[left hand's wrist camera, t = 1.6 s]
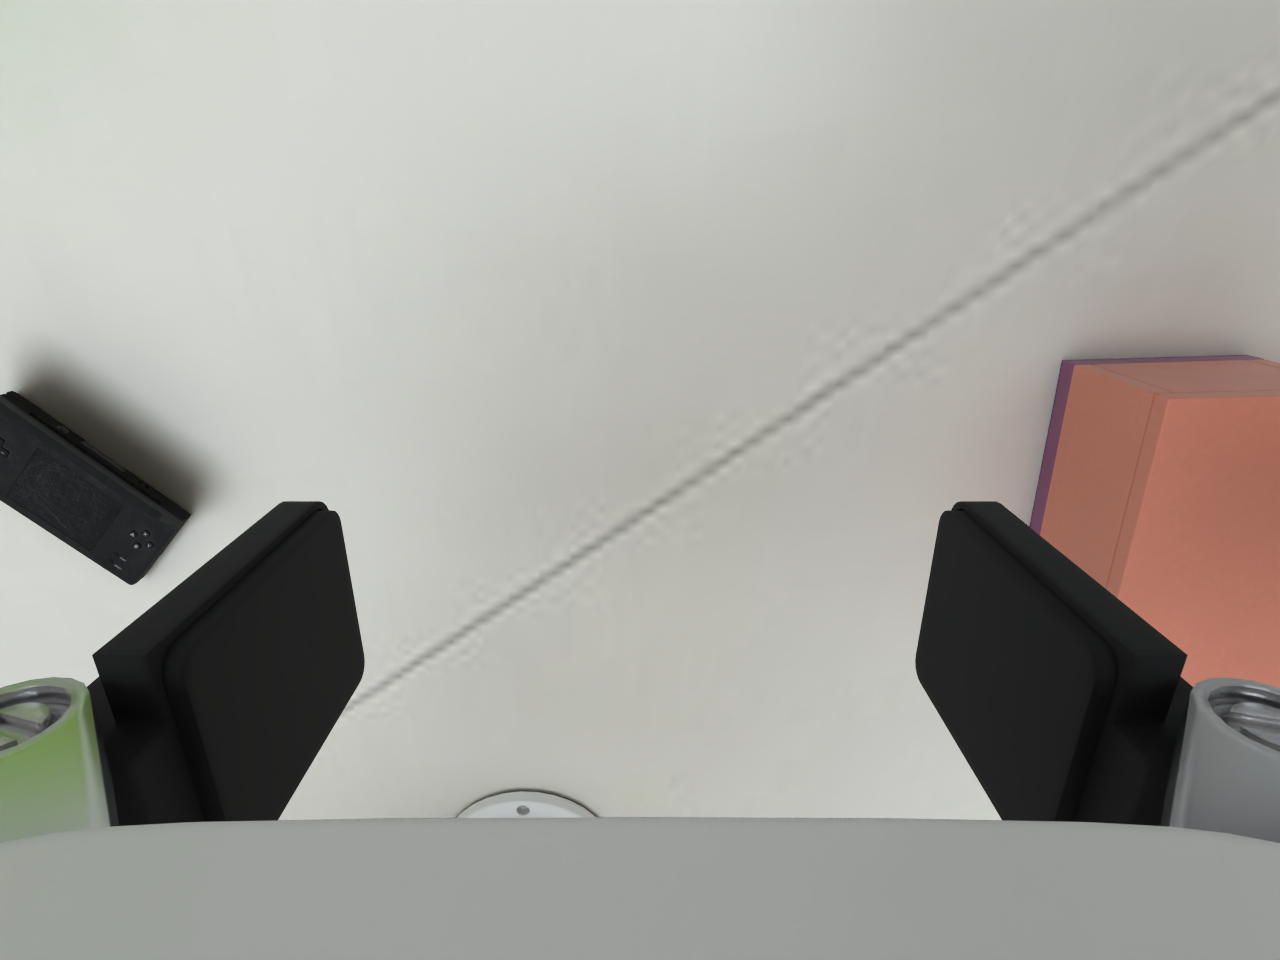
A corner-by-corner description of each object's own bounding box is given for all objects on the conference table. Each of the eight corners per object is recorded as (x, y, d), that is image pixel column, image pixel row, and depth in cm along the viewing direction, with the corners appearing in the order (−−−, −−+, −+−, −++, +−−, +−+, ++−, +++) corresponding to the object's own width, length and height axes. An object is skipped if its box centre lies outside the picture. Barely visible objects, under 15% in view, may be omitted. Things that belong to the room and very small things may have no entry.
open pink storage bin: (1168, 620, 43) (1279, 706, 36) (1010, 624, 43) (1088, 710, 36) (1246, 354, 37) (1400, 391, 29) (1062, 360, 37) (1168, 398, 30)
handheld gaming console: (-66, 507, 38) (-178, 485, 29) (18, 398, 40) (-62, 346, 31) (153, 592, 42) (114, 595, 33) (219, 488, 44) (199, 465, 35)
